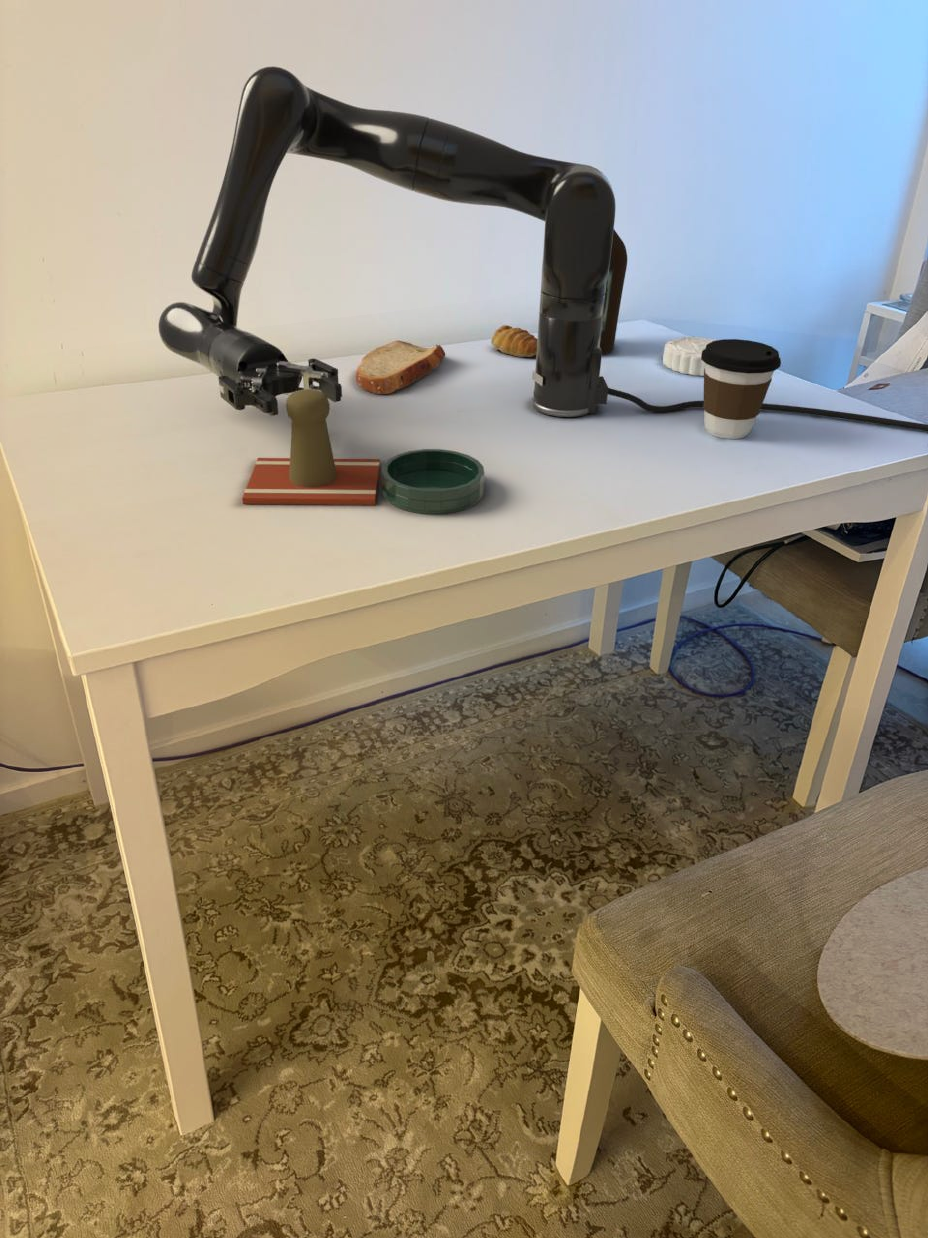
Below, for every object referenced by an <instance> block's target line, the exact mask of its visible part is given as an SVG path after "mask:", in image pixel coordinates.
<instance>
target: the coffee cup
mask: <svg viewBox="0 0 928 1238" xmlns="http://www.w3.org/2000/svg"><path fill="white" fill-rule="evenodd" d="M716 340H717V341H712V342H711V343H709V344H707V345H706V349H704V350H703V351H702V354H701V360H702V361H704V362H705V369H704V376H703V400H702V401H703V407H702V409H703V410H704V414H703V415H704V418H703V421H704V423H703V426H704V429H705V431H706V432H707V433H708V434H709V435H712V436H713V437H716V438H720V439H727V440H739V439H743V438H745V437H747V436H748V434H750V432H751V431H752V428H753V426H754V423H755V421H756V418H757V416H759V414H760V411H761V410H760V409H761V406H762V404H763V403H764V401H765V399H766V396H767V393H768V391H769V388H770V386H771V383H772V377H773V375H774V372H775V371H776V370H778V369H779V368H781V364H782V360H781V359H782V358H781V357H780V352H779V351H778V349H776V348H774V347H773V346H771V345H769V344H766V343H763V342H760V341H754V340H749V339H739V338H729V339H727V338H726V339H725V338H724V339H723V338H722V339H716Z"/></svg>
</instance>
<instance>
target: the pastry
mask: <svg viewBox="0 0 928 1238" xmlns="http://www.w3.org/2000/svg"><path fill="white" fill-rule="evenodd" d="M537 339H538V338H537V337H535V335H534V334H531V333H529V331H528V330H527V329H522V328H520V327H513V326H511V325H508V324H506V325H505V324H504V325H501V326H500V327H499V328H498V329H496V330H495V331H494V333H493V335H492V337H491V343H490V344H491V345H492V346H493V348H494V349H495V350H496V351H498V350H499V351H500V353H503V354H508V355H510V356H513V357H514V356H515V357H518V358H521V357H522V358H524V357H527V358H531V357H534V356H536V354H537Z"/></svg>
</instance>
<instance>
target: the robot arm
mask: <svg viewBox="0 0 928 1238" xmlns="http://www.w3.org/2000/svg"><path fill="white" fill-rule="evenodd" d="M234 127H235V128H234V133H233V137H232V142H231V143H232V144H231V146H230V147H231V148H230V152H229V156H228V160H227V166H226V167H225V168H226V169H225V173H224V176H223V179H222V183H221V187H220V190H219V193H218V196H217V200H216V202H215V206H214V209H213V212H212V214H211V217H210V220H209V222H208V226H207V228H206V231H205V234H204V236H203V239H202V242H201V244H200V247H199V249H198V250H199V251H198V253H197V256H196V259H195V262H194V264H193V267H192V270H191V281H192V283H193V284H194V285H195V286H196V287H197V288H198V289H200V290H201V291H202V292H204V293H206V295H209V296H210V297H211V298H212V305H213V306H212V310H211V311H210V310H207V309H205V308H202V307H199V306H197V305H194V304H191V303H189V302H186V301H185V302H184V301H176V302H174V303H171V304H170V305H168V306H167V307H165V309H164V310H163V311H162V312H161V314H160V317H159V319H158V334H159V337H160V340H161V342H162V343H163V345H164V346H165V347H166V348H167V349H168V350H169V351H170V352H172V353H174V354H176V355H178V356H180V357H182V358H185V359H187V360H189V361H192V362H194V363H197V364H199V365H200V366H202V367H204V368H206V369H207V370H209V372H211V373H213V374H214V375H215V376H217V377H218V385H219V394H220V398H221V399H223V401H225V402H226V403H227V404H228V405H230V406H231V407H232V408H233V409H235V410H236V411H243V410H245V409H246V406H250V408H251V409H253V410H254V409H255V410H260V411H261V412H262V413H265V414H268V415H269V416H270V417H274V416H278V415H279V406H278V404H279V403H278V398H277V397H278V396H281V395H284V396H289V395H290V394H292V393H294V392H295V391H298V390H306V389H311V390H317V391H320V392H322V393H324V394H325V395H326V397H327V398H328V400H330V401H332V402H333V403H338V402H341V401H342V397H343V388H342V384H341V383H339V369H338V368H336V367H334V366H332V365H330V364H328V363H325V362H324V361H321V360H319V359H317V358H309V359H308V360H307V361H308V365H300V364H296V363H291V362H290V361H289V360H288V358H287V357H286V355H285V354H284V353H283V351H282V350H281V349H280V348H278V347H277V346H275V345H274V344H272V343H270V342H268V341H266V340H264V339H262V338H261V337H259V336H257V335H255V334H254V333H252V332H249V331H246V330H242V329H241V328H239V327H238V317H239V308H240V303H241V295H242V290H243V288H244V285H245V282H246V280H247V277H248V274H249V272H250V269H251V266H252V263H253V261H254V258H255V255H256V252H257V249H258V245H259V241H260V237H261V233H262V227H263V222H264V218H265V217H264V215H265V211H266V206H267V202H268V198H269V195H270V192H271V188H272V186H273V183H274V180H275V177H276V175H277V173H278V170H279V169H280V166H281V165H282V162H283V160H284V158H285V157H286V155H287V154H292V155H297V156H302V157H303V156H305V157H310V158H314V159H315V158H316V159H319V160H320V159H321V160H325V161H330V162H335V163H339V164H343V165H346V166H349V167H352V168H354V169H356V170H359V171H361V172H363V173H365V174H368V175H370V176H372V177H374V178H376V179H379V180H381V181H384V182H386V183H388V184H392V185H394V186H397V187H400V188H402V189H405V190H408V191H410V192H414V193H417V194H421V195H424V196H428V197H431V198H435V199H437V200H441V201H446V202H450V203H458V204H468V205H477V206H490V207H498V208H506V209H509V210H513V211H516V212H519V213H522V214H525V215H528V216H531V217H533V218H536V219H538V220H541V221H542V222H544V236H543V237H544V238H543V252H542V254H543V255H542V265H541V278H540V279H541V282H540V295H539V298H540V299H539V312H538V314H539V315H538V325H537V326H538V327H537V338H536V339H537V354H536V355H535V370H532V374H531V380H533V381H534V385H533V396H532V407H533V408H534V409H535V410H536V411H537V412H539V413H542V414H545V415H548V416H552V417H559V418H560V417H561V418H573V417H574V418H575V417H582V416H586V415H592V414H593V415H594V414H596V413H597V405H607V404H608V395H609V396H613V397H617V398H619V399H624V400H626V401H629V402H632V403H633V404H635V405H636V406H638V407H640V408H641V409H643V410H644V411H647V412H651V413H659V414H663V413H664V414H666V413H673V412H677V411H681V410H685V409H692V408H703V400H692V401H691V400H690V401H685V402H680V403H676V404H669V405H652V404H649V403H647V402H645V401H644V400H642V399H641V398H639V397H637V396H636V395H633V394H631V393H628V392H626V391H622V390H617V389H615V388H611V387H609V386H608V384H607V382H606V379H605V377H604V376H602V375H601V367H602V366H601V365H602V356H603V355H602V350H601V348H600V338H601V328H602V318H603V309H604V299H605V291H606V283H607V277H608V273H609V266H610V256H611V248H612V240H613V231H614V230H615V222H616V207H617V206H616V205H617V204H616V197H615V193H614V190H613V187H612V184H611V182H610V180H609V179H608V177H607V176H606V175H605V174H604V173H603V171H601V170H600V169H598V168H596V167H594V166H593V165H589V164H582V163H576V162H570V161H564V160H558V159H554V158H553V159H552V158H547V157H542V156H537V155H534V154H530V153H527V152H524V151H521V150H520V151H519V150H517V149H514V148H512V147H511V146H507V145H506V144H503V143H501V142H498V141H496V140H494V139H492V138H489V137H486V136H484V135H481V134H479V133H475V132H474V131H471V130H467V129H465V128H462V127H459V126H457V125H454V124H451V123H448V122H444V121H441V120H438V119H435V118H430V117H428V116H424V115H419V114H415V113H409V112H404V111H403V112H402V111H393V110H382V109H370V108H364V107H358V106H354V105H352V104H348V103H345V102H343V101H340V100H338V99H335V98H333V97H330V96H327V95H325V94H323V93H321V92H319V91H316V90H314V89H312V88H310V87H308V86H306V85H304V83H303V82H302V81H301V80H300V79H299V78H298V77H297V75H294V73H292V72H290V71H289V70H287V69H285V68H282V67H279V66H265V67H262V68H259V69H258V70H257V71H255V72H254V73H252V74H251V75H250V76H249V77H248V79H247V80H246V81H245V84H244V85H243V88H242V90H241V96H240V100H239V104H238V111H237V114H236V121H235V126H234ZM302 380H303V381H302ZM302 382H303V387H300V385H301V383H302ZM314 382H315V383H316V384H318V385H315V384H314ZM760 411H772V412H783V413H784V412H785V413H793V414H794V413H795V414H803V415H810V416H811V415H812V416H819V417H828V418H834V419H842V420H849V421H854V422H855V421H856V422H863V423H868V424H869V423H870V424H876V425H882V426H890V427H895V428H903V429H909V430H916V431H924V432H928V424H927V423H920V422H914V421H908V420H900V419H892V418H887V417H879V416H873V415H866V414H858V413H852V412H844V411H837V410H831V409H830V410H829V409H822V408H814V407H805V406H796V405H787V404H777V403H776V404H775V403H766V402H765V403H764V402H763V404H762V406H761V409H760Z"/></svg>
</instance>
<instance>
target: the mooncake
mask: <svg viewBox="0 0 928 1238" xmlns="http://www.w3.org/2000/svg"><path fill="white" fill-rule="evenodd" d="M717 340H718V339H716V338H704V337H699V336H683V337H681V338H675V339H672V340H669V341H667V343H665V344H664V348H663V356H662V365H664V366H665V367H666V369H670V370H672V371H673V372H677V373H680V374H683V375H689V376H699V377H704V369H705V362H704V361H702V360H701V354H702V351H703V350H704V349H706V345H707V344H709V343H711V342H712V341H717Z"/></svg>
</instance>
